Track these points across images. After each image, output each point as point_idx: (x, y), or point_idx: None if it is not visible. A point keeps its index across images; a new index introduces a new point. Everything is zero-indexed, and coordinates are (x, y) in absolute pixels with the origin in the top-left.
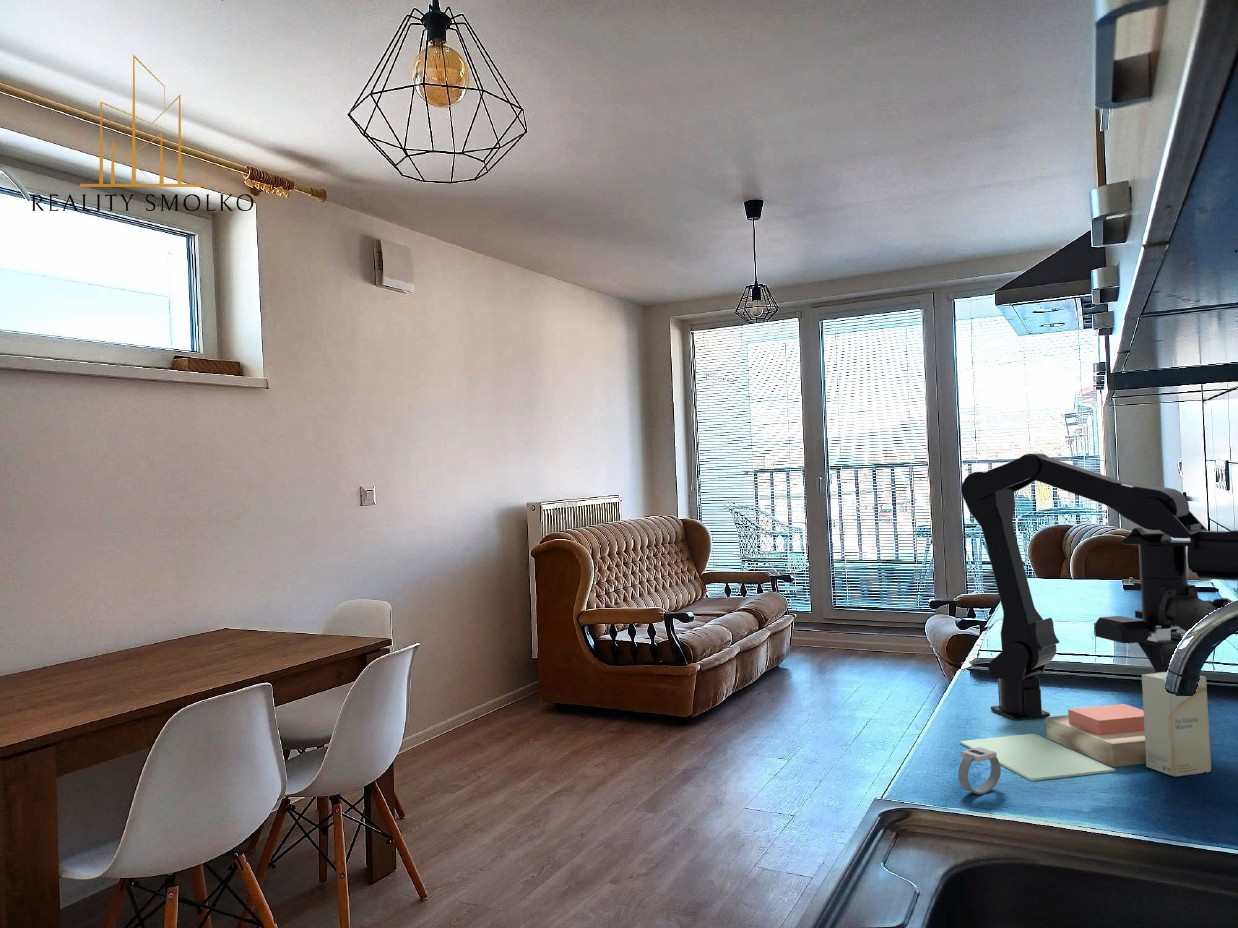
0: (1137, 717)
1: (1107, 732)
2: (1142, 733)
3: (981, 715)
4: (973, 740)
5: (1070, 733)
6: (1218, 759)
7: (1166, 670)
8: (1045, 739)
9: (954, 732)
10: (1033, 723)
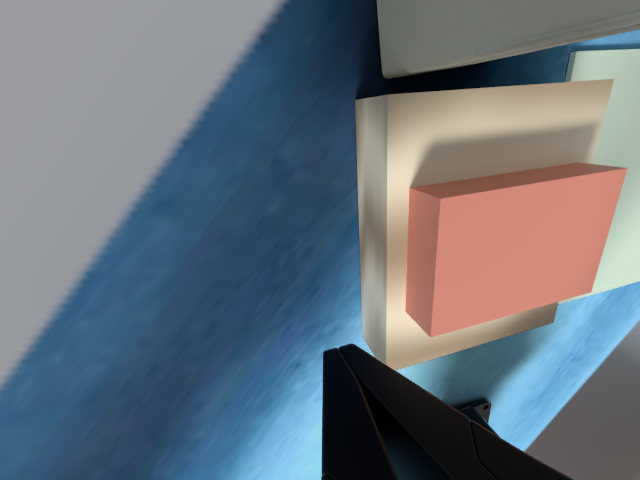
0: (509, 186)
1: (563, 166)
2: (476, 156)
3: (506, 421)
4: (627, 280)
5: None
6: (268, 71)
7: (435, 397)
8: None
9: (603, 333)
10: (467, 382)
